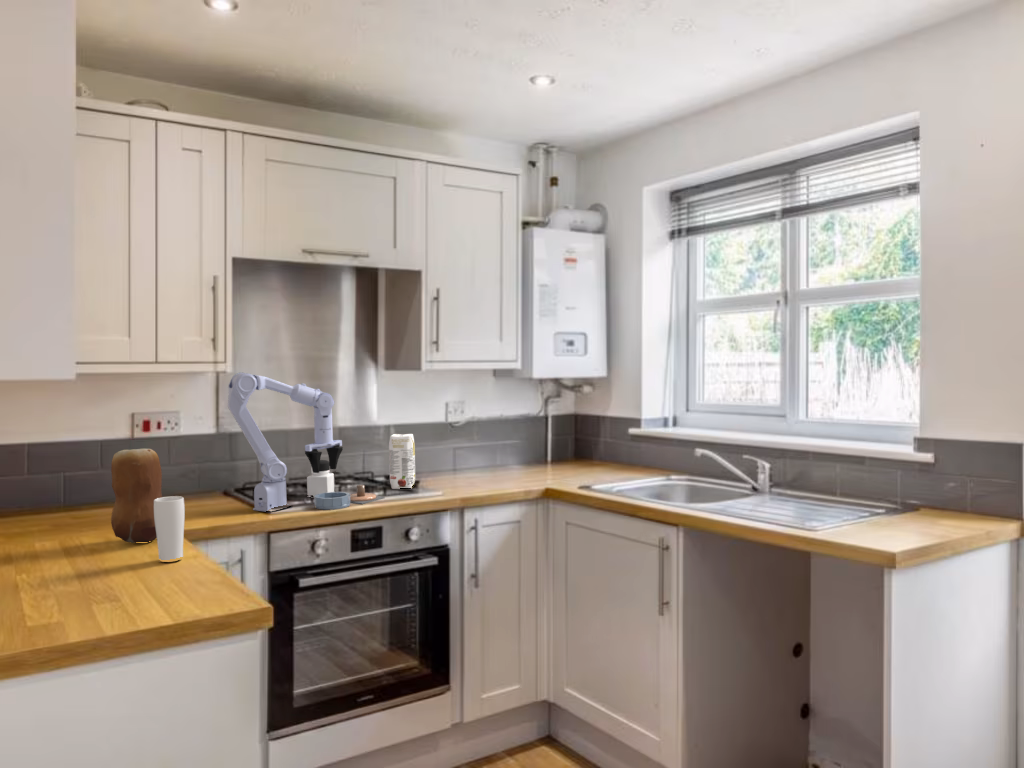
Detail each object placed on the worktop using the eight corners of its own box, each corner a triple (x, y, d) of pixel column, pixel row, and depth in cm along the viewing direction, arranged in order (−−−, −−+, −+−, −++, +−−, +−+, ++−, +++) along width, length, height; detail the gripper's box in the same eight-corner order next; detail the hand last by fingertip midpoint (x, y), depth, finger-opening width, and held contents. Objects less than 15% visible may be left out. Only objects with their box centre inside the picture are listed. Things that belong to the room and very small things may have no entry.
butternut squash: (142, 534, 213) (138, 444, 212) (180, 538, 208) (177, 445, 207) (99, 547, 200) (95, 450, 199) (138, 551, 196) (134, 452, 194)
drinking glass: (191, 560, 187) (189, 498, 186) (163, 566, 182) (160, 502, 181) (178, 555, 192) (176, 494, 191) (150, 561, 187) (148, 499, 186)
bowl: (332, 511, 240) (332, 499, 240) (307, 507, 245) (307, 496, 245) (357, 504, 249) (356, 493, 249) (332, 501, 255) (331, 490, 254)
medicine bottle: (334, 493, 268) (333, 459, 268) (327, 497, 261) (326, 462, 260) (314, 493, 269) (313, 459, 268) (307, 497, 262) (306, 462, 261)
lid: (363, 502, 250) (362, 489, 250) (339, 499, 255) (338, 486, 255) (382, 496, 259) (382, 484, 259) (358, 494, 264) (358, 481, 263)
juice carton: (413, 489, 273) (412, 435, 272) (388, 489, 273) (387, 436, 272) (416, 485, 281) (415, 433, 280) (392, 485, 281) (391, 433, 280)
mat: (361, 504, 249) (361, 502, 249) (336, 501, 255) (336, 499, 255) (384, 498, 259) (384, 496, 259) (359, 495, 265) (359, 493, 265)
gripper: (316, 432, 243) (317, 475, 244) (348, 427, 256) (349, 468, 257) (299, 431, 247) (301, 473, 248) (332, 426, 259) (333, 466, 260)
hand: (324, 470), depth 252 cm, fingers open, 7 cm apart
